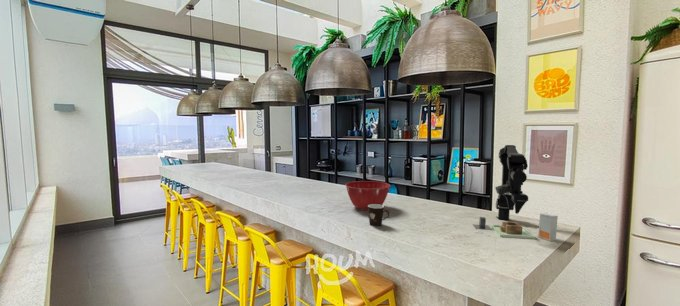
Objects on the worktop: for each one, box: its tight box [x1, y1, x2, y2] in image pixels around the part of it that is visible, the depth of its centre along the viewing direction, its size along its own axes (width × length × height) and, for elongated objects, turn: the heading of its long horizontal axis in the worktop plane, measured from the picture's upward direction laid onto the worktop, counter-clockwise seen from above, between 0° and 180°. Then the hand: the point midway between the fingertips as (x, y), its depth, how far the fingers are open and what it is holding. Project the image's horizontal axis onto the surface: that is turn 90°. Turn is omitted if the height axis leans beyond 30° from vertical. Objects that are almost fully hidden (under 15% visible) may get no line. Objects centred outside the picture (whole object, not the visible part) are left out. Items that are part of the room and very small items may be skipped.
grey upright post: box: [472, 216, 493, 231], centre depth 169 cm, size 8×8×6 cm
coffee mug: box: [367, 204, 390, 227], centre depth 171 cm, size 12×9×10 cm
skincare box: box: [537, 212, 559, 242], centre depth 153 cm, size 6×4×12 cm
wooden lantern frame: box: [499, 221, 522, 235], centre depth 161 cm, size 9×7×4 cm
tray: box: [489, 223, 537, 240], centre depth 161 cm, size 16×16×2 cm
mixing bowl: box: [345, 180, 391, 211], centre depth 207 cm, size 28×28×16 cm
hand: (513, 211), depth 160 cm, fingers open, 9 cm apart
